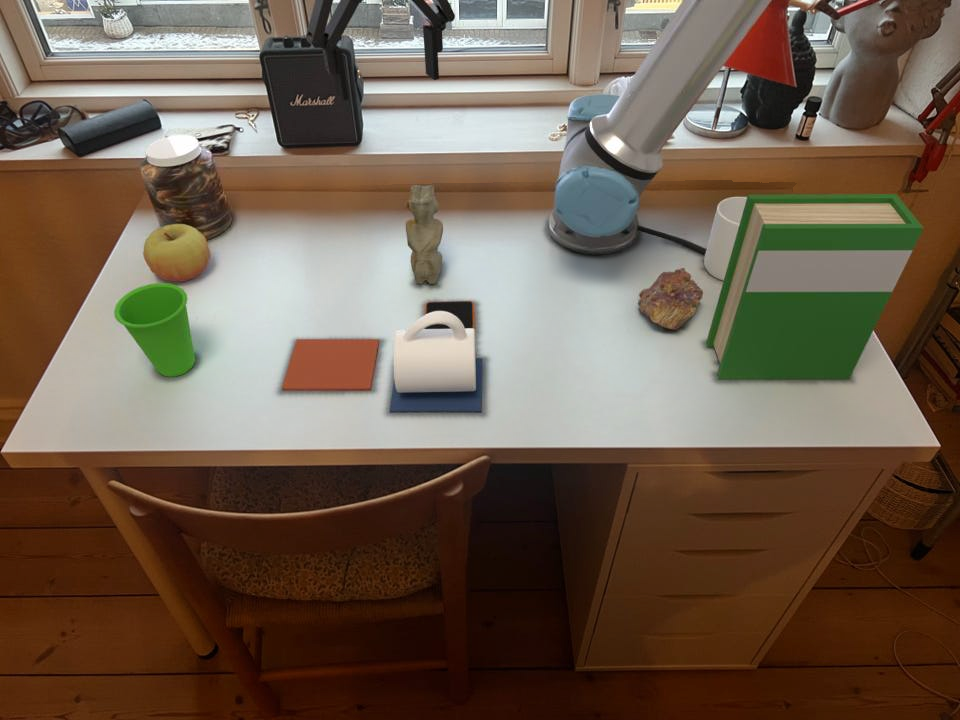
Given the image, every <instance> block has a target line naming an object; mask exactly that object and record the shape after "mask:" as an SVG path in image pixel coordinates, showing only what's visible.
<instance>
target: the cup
mask: <svg viewBox="0 0 960 720" xmlns="http://www.w3.org/2000/svg"><path fill="white" fill-rule="evenodd" d="M188 299H189V298H188V293H187V292H186V291H185V290H184V288H182V287H180V286H179V285H176V284H173V283H167V282H156V283H151V284H145V285H141V286H139V287H136V288H135V289H133V290H131V291H129V292H127V293H126V294H124V296H122V297H121V298H120V299H119V300H118V302H117V303H116V305H115V308H114V310H113V311H114V318H115V320H116V321H117V322H118V323H119V324H121V325H123V326H124V328H125V329H126V330H127V331H128V333H129V334H130V336H131V337H132V338H133V340H134V341H135V342H136V344H137V346H138V347H139V348H140V350H141V351H142V352H143V354H144V355H145V356H146V357H147V359H148V360H149V362H150V363H151V365H152V366H153V368H154V369H155V370H156V372H158V373H159V374H160V375H162V376H164V377H169V378H170V377H171V378H173V377H179V376H182V375H185V374H186V373H188V372H189V371H190V370H192V369H193V368H194V365H195V362H196V355H195V349H194V344H193V337H192V332H191V331H192V330H191V325H190V320H189V315H188V308H187V304H188Z"/></svg>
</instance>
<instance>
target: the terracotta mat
mask: <svg viewBox="0 0 960 720" xmlns="http://www.w3.org/2000/svg"><path fill="white" fill-rule="evenodd" d="M379 345H380V339H379V338H377V339H376V338H375V339H374V338H362V339H361V338H342V339H341V338H338V339H337V338H318V339H317V338H314V339H313V338H310V339H309V338H297V339H295V344H294V346H293V350H292V352H291V353H292V354H291V356H290V360H289V363H288V366H287V370H286V373H285V376H284V379H283V383H282V386H281V390H282V391H372V384H373V380H374V373H375V366H376V361H377V356H378V350H379Z"/></svg>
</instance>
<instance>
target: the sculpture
mask: <svg viewBox="0 0 960 720" xmlns="http://www.w3.org/2000/svg"><path fill="white" fill-rule="evenodd" d="M405 208H406V210H408V211H409V212H410V213H411V215H412V216H413V218H412V219H407V220H406V221H405V233H406V241H407V242H406V243H407V246H408V248H409V249H410V250H411V253H410V266H411V271H412V273H413V278H414V282H415V284H424V283H425V281H427V282H428V284H430V285H434V284H437V282H438V276H439V275H440V273H441V270H442V266H443V253H442V252H441V251H439V246H440V244H441V242H442V238H443V233H444V224H443V222H442V220H440V219H438V218H435V217H434V215H435V214H437V213H438V212H439V210H440V205H439V202H438V201H437V199H436V196H435V186H434V184H429V185H424V186H423V185H419V184H412V185H411V187H410V191H409V200H407V201H406V202H405Z"/></svg>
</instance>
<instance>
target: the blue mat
mask: <svg viewBox="0 0 960 720" xmlns="http://www.w3.org/2000/svg"><path fill="white" fill-rule="evenodd" d="M475 362H476V390H475V391H460V392H408V393H399V392H397V390H396V387H395V381H394V380H393V384H392V389H391V397H390V405H389V413H482V409H483V408H482V407H483V405H482V403H483V402H482V401H483V358H482V357H475Z"/></svg>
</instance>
